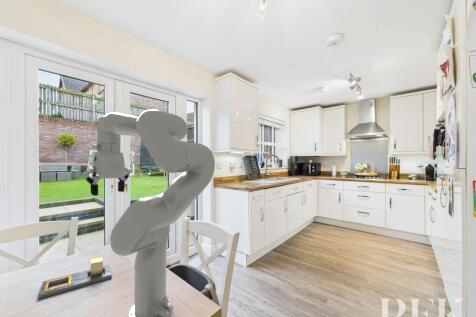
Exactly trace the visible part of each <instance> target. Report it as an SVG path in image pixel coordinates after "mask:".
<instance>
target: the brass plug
mask: <svg viewBox="0 0 476 317" xmlns="http://www.w3.org/2000/svg"><path fill="white" fill-rule="evenodd" d="M103 260H104V259H103V257H102V256H100V257H96V258H92V259H90V269H91V275H90V278H93V277H97V276H100V275H104V273H103V266H104V264H103V262H104V261H103Z"/></svg>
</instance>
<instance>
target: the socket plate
mask: <svg viewBox="0 0 476 317" xmlns="http://www.w3.org/2000/svg"><path fill="white" fill-rule="evenodd" d="M110 266H111V265H110V264H106V265H103V272H104V273H103V275H100V276H97V277H93V278H91V277H89V276H91V268H90V269H87V270H83V271H79V272H75V273H72V274H68V275H65V276H61V277H56V278H51V279H48V280H45V281H43V282H42V284H41V287H40V290H39V293H38V300H42V299H45V298H48V297H49V298H50V297H52V296H55V295H59V294H62V293H66V292H69V291H72V290H76V289H79V288H82V287H86V286H89V285H93V284H97V283H101V282H103V281H107V280H111V279H113V277H112V270H111V267H110ZM66 282H68V283H66ZM63 283H66V284H63ZM58 284H63V285H59V286H55V287H52V288H50V287H51V286H54V285H58Z"/></svg>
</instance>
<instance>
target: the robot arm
mask: <svg viewBox="0 0 476 317" xmlns="http://www.w3.org/2000/svg"><path fill="white" fill-rule="evenodd" d="M187 124H188V123H187V122H186V121H185V120H184V118H182V117H181V116H179V115H177V114H174V113H170V112H167V111H162V110H159V109H153V108H151V109H147V110H144V111H143V112H141V114H140V115H139V116H135V115H130V114H125V113H120V112H108V113H107V114H105V115H100V116H98V118H97V129H96V130H97V134H96V136H97V137H96V138H97V139H96V140H97V142H96V144H94V145H93V149H96V151H95V153H94V156H93V161H92V167H91V168H89V169H87V170H84V171H83V172H81V174H82V176H83V178H84V180H85V181H86V182H87V183H88V184H89V185H90V194H91V196H95V197H96V196H98V195H99V184H98V183H99V181H100V180H101V179H102V180H106V179H107V180H108V179H117V180H118V182H117V192H120V193H123V192H125V187H126V186H125V184H126V182H127V179H129V176H130V175H131V172H132V171H131V170H130V169H128V168H127V167H126V166H125V165H126V164H125V158H124V154H123V152H121V137H122V136H131V137H140V139H141V142H143V145H144V146H145V148H146V150H147V152H148V153H149V155H150V156H151V158H152V161H153V162H154V164H155V165H156V167H157V168H159V170H161V171H162V172H165V173H169V174H176V173H181V174H180V175H178V177H176V178H175V179H174V180H172V181H171V183H170V184H169V185H168V187H167V188H166V189H165V190H164V191H163V192H161V193H160V194H155V195H152V196H146V197H142V198H139V199H136V200H134V201H133V202H132V203H131V204H130V205H129V206H128V207H127V208H126V210H125V211H124V213H123V214H122V216H121V217H120V218H119V219H118V221H117V222H116V223H115V225H114V226H113V229H112V230H111V234H110V237H109V244H110V245H109V246H110V248H111V251H112V252H114V253H115V254H116V255H118V256H121V257H122V256H129V255H132V254H134V253H136V254H135V258H134V259H135V260H134V288H133V289H134V290H133V292H134V293H133V294H134V295H133V296H134V298H133V299H134V304H133V305H132V307H131V308H130V310H129V312H128V317H171V312H172V311H173V309H174V306H173V305H172V303H171V300H170V299H169V297H167V250H168V243H169V242H168V241H169V236H170V229H171V227H170V226H171V225H173V224H174V223H176V221H178V220H179V219H180V218H181V217H182V215H183V214H184V213H185V212H186V210H188V208H189V207H190V206H191V205H192V204H193V202H194V201H195V200H196V199H197V198H198V197H199V195H201V194H202V192H203V191H204V190H205V189H206V188H207V187H208V185H209V184H210V182H211V180H212V179H213V176H214V173H215V169H216V162H215V161H216V160H215V156H214V153H213V152H212V150H211V149H210V147H208V146H206V145H205V144H202V143H198V142H195V141H194V142H193V141H184V140H183V139H184V138H186V136H187V134H188V128H189V127H188V125H187ZM90 174H92V177H90Z"/></svg>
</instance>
